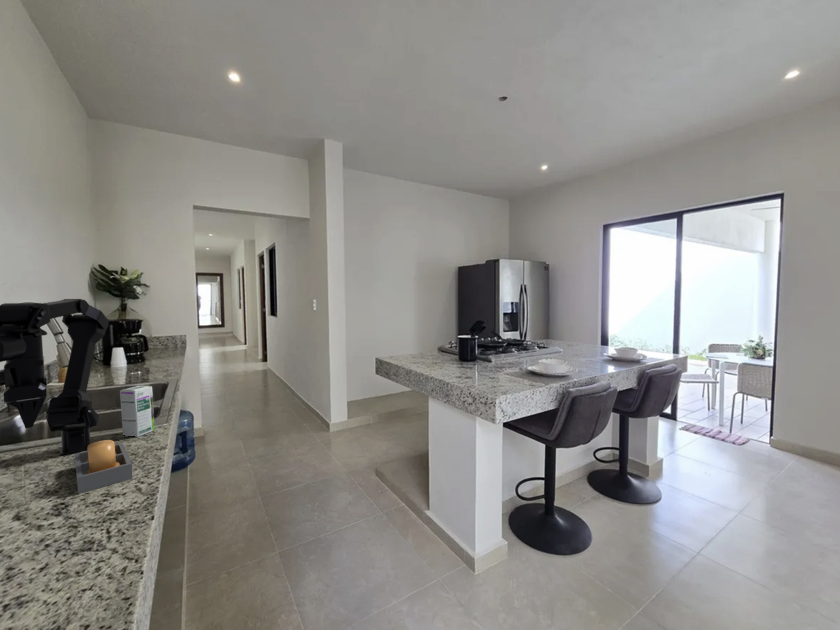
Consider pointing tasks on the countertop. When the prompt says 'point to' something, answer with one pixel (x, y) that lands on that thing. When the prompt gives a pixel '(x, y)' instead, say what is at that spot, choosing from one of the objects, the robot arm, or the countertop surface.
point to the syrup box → (137, 410)
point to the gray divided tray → (104, 476)
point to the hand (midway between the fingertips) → (29, 422)
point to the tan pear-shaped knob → (101, 456)
